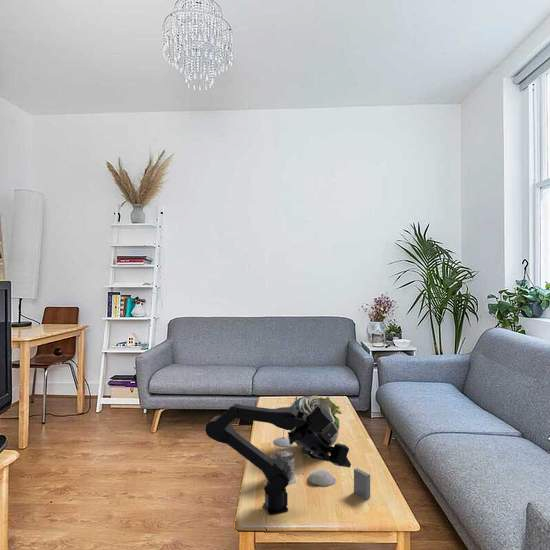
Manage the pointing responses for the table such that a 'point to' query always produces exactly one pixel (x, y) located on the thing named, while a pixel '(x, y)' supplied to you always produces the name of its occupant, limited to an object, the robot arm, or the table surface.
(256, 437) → the table surface
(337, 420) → the flower arrangement
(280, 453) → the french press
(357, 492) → the glazed tile
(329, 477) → the seashell
